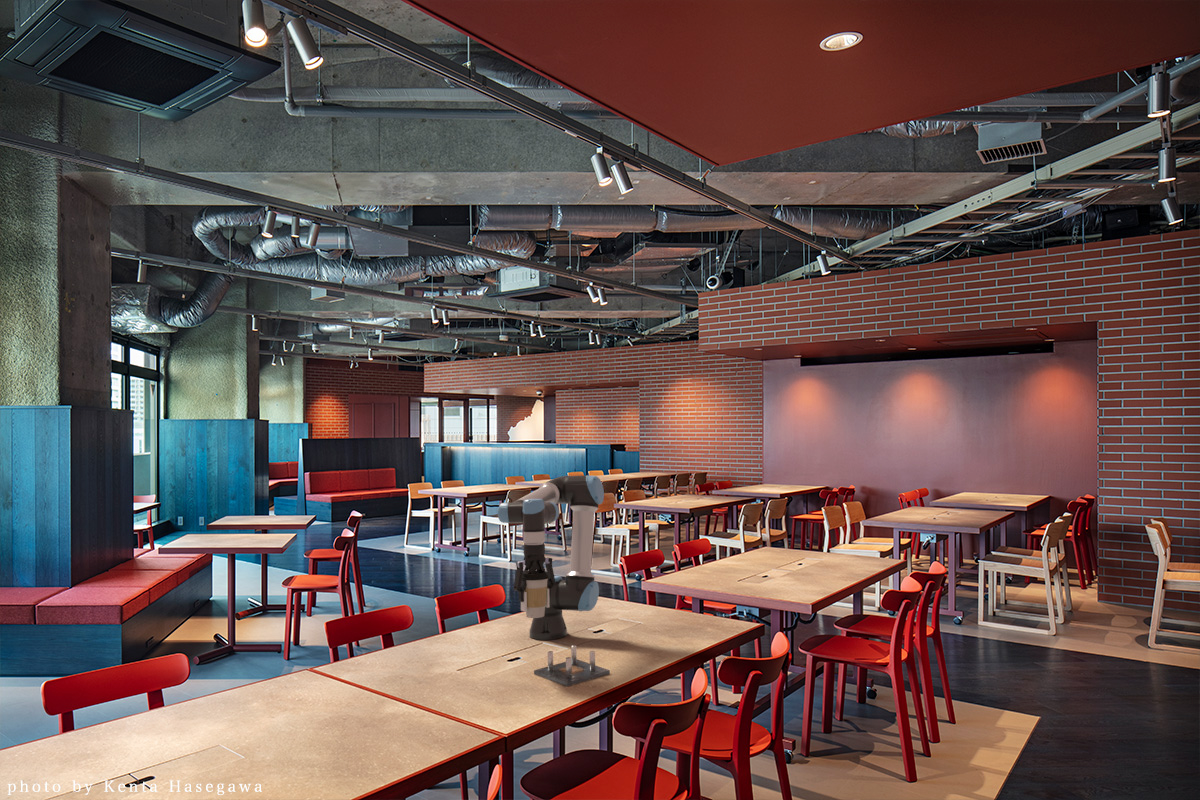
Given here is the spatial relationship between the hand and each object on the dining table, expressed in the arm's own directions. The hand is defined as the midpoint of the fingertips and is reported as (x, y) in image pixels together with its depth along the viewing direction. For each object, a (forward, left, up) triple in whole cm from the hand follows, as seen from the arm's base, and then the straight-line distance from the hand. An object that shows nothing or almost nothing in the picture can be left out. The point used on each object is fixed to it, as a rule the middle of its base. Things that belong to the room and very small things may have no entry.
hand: (535, 608), depth 253 cm
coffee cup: (0, 0, -3) cm, 3 cm away
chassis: (-4, +15, -20) cm, 25 cm away
